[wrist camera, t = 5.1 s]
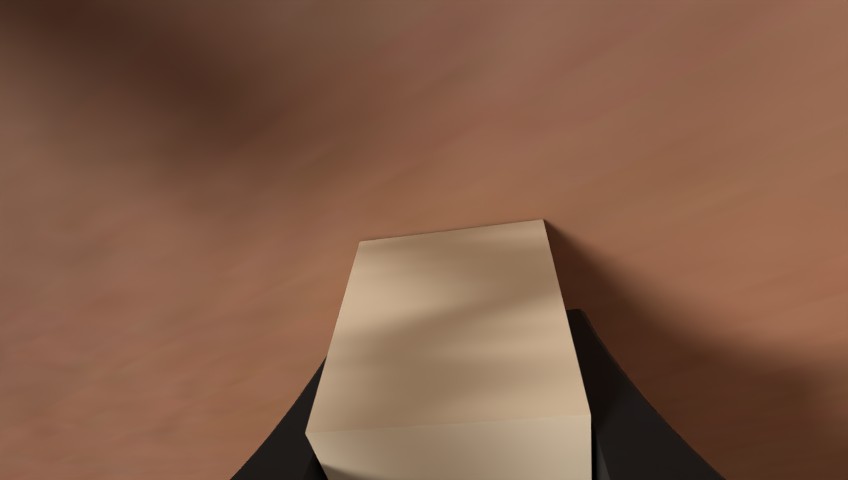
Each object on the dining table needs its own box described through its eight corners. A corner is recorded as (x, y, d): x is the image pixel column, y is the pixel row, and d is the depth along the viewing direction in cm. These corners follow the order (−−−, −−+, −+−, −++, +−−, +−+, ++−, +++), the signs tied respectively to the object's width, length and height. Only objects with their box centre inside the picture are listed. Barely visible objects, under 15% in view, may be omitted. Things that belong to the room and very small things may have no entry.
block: (543, 219, 12) (590, 414, 8) (552, 352, 15) (592, 559, 10) (359, 241, 13) (305, 433, 8) (397, 365, 15) (371, 565, 11)
